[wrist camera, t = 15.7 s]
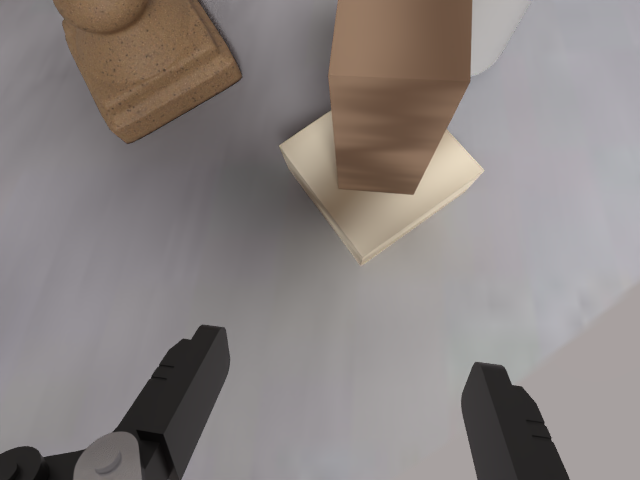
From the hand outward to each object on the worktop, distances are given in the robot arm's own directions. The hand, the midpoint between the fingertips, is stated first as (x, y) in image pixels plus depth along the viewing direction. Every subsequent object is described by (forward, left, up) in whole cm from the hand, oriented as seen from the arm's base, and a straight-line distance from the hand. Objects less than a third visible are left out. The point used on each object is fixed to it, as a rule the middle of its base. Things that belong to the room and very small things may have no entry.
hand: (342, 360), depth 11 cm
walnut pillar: (-9, +6, -8) cm, 14 cm away
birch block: (-9, +6, -12) cm, 16 cm away
